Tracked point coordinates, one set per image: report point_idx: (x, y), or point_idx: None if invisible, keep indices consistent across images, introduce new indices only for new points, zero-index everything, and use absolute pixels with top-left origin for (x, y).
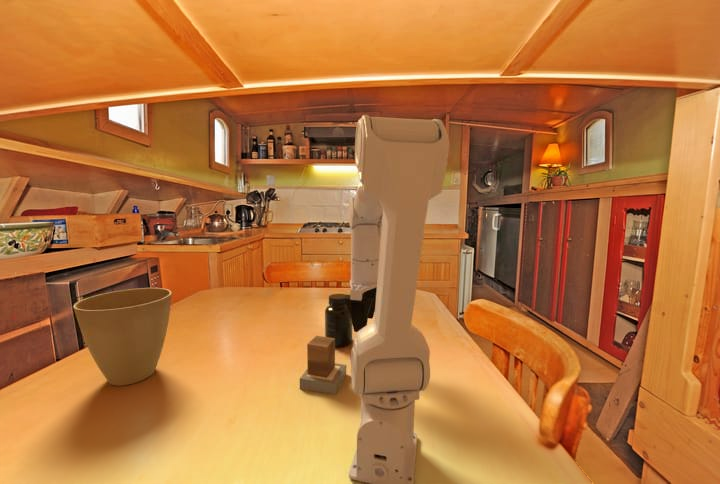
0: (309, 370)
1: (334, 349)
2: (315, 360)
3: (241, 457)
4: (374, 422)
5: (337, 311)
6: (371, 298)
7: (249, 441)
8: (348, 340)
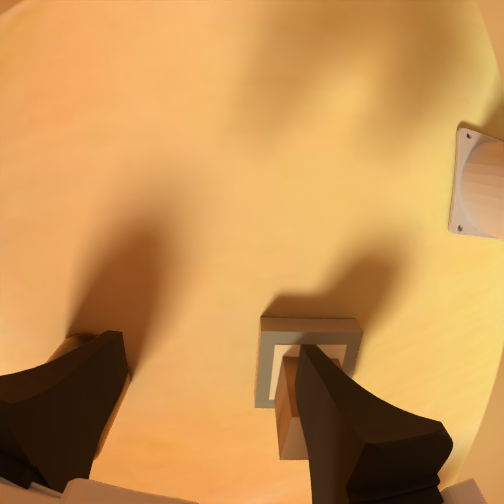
0: None
1: (291, 392)
2: None
3: (477, 379)
4: None
5: None
6: (377, 463)
7: (457, 388)
8: None
